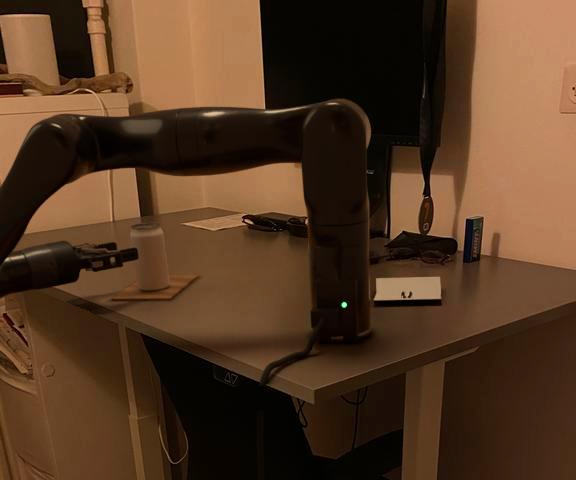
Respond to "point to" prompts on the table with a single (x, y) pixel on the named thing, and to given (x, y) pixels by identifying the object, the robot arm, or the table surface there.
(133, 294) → the placemat
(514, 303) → the table surface
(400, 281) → the folded paper
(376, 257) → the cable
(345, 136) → the robot arm
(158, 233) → the can
